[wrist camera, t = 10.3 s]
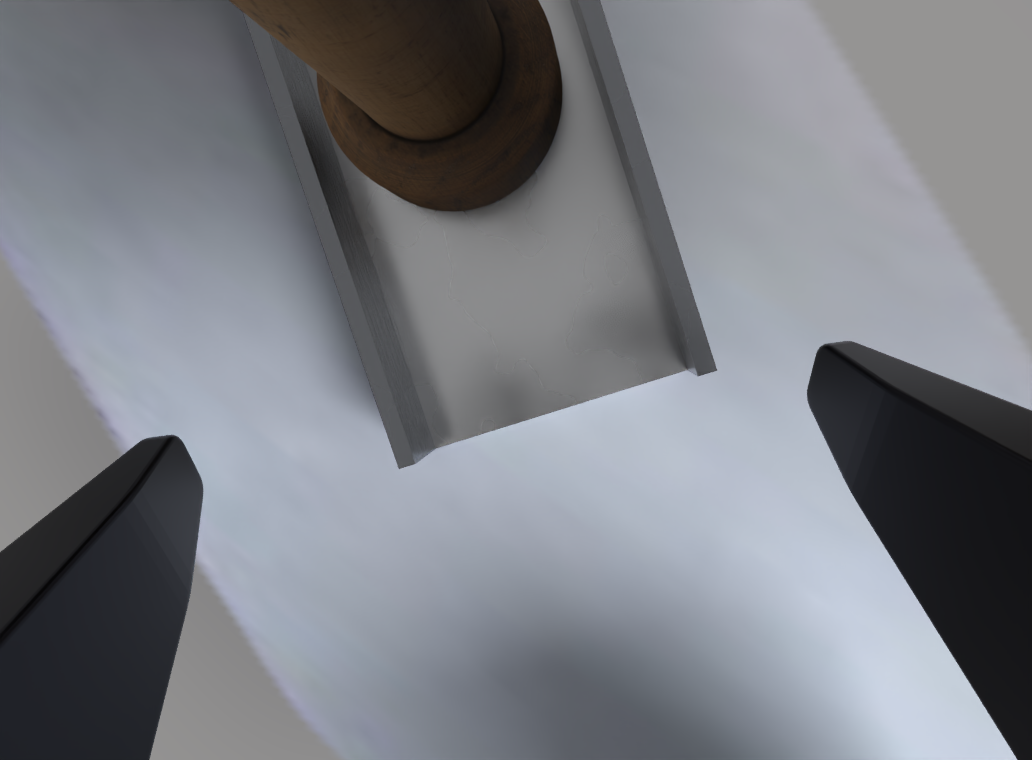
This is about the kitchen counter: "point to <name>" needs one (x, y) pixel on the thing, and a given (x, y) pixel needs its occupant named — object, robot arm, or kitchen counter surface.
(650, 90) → the kitchen counter surface
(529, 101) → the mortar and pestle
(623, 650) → the kitchen counter surface
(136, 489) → the robot arm
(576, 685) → the kitchen counter surface
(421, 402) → the floor track
